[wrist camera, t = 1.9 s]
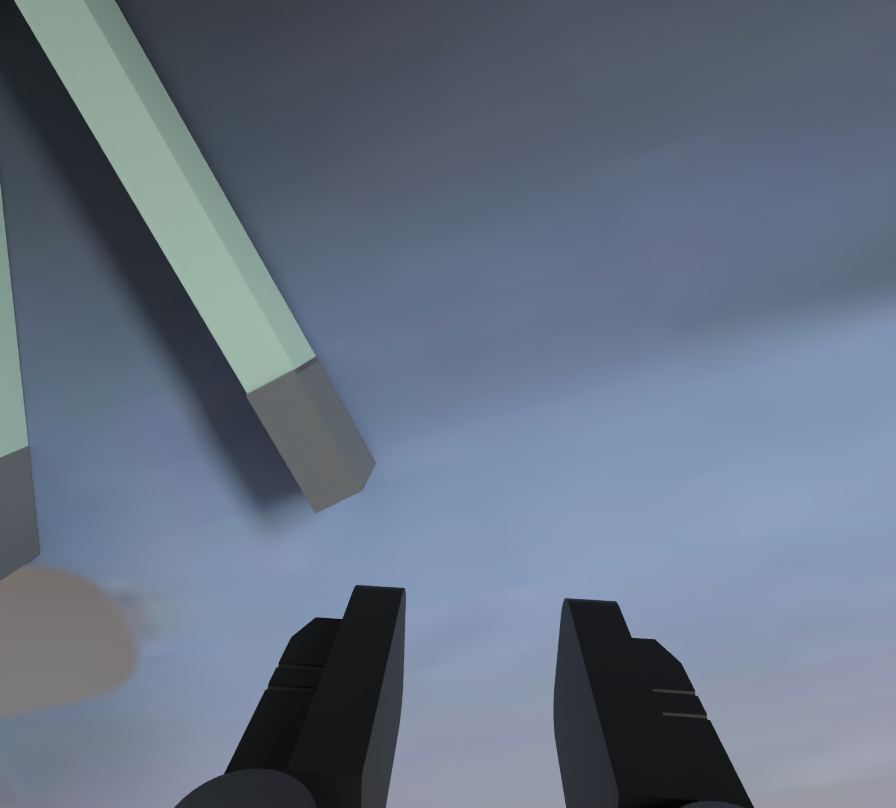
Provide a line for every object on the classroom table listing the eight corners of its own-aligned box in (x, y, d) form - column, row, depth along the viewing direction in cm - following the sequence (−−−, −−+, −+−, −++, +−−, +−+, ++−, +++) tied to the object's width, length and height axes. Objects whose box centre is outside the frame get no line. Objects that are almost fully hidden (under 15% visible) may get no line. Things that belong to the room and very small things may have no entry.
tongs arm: (-139, -155, 22) (-302, -263, 18) (-22, -242, 22) (-160, -380, 17) (269, 515, 27) (226, 568, 23) (375, 463, 27) (354, 506, 22)
